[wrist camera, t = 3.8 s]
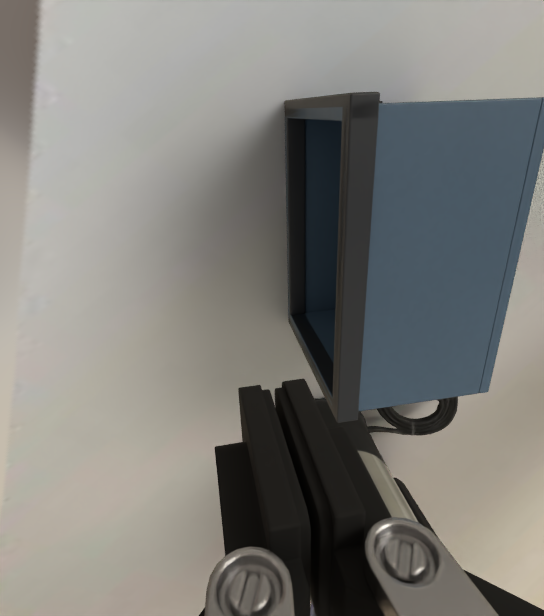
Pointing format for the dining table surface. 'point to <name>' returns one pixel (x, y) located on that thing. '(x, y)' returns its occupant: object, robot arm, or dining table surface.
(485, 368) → the blue storage bin
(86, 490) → the dining table surface
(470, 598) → the robot arm
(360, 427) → the milk frother
